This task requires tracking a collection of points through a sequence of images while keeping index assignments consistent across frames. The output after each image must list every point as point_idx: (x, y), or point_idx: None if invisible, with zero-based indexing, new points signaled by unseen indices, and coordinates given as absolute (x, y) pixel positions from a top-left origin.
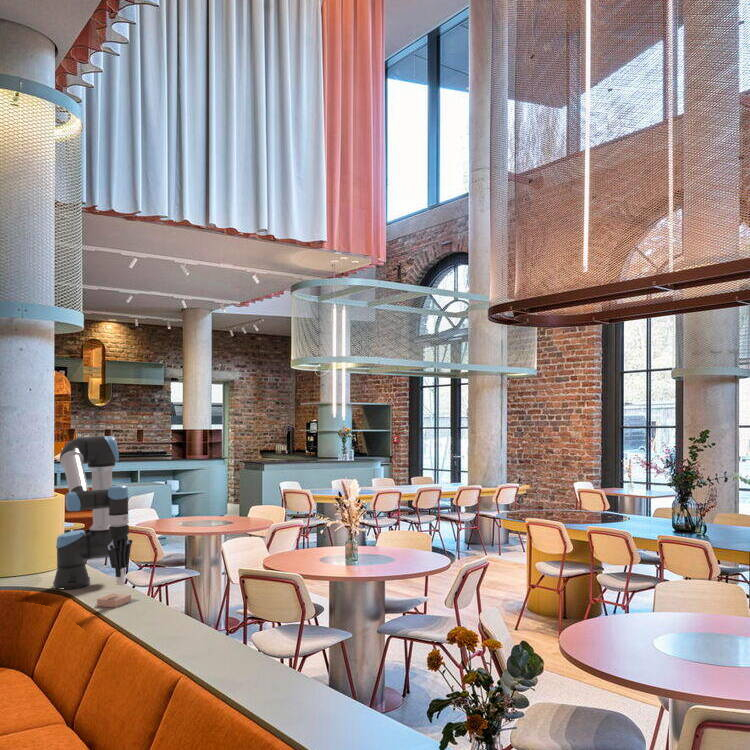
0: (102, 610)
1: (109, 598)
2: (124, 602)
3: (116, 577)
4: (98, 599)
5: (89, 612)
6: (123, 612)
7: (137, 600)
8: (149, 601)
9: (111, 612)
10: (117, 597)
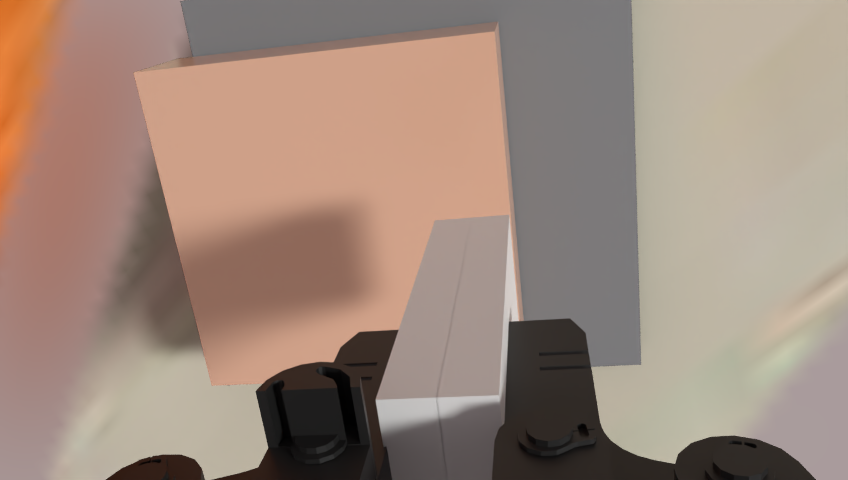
0: (163, 201)
1: (248, 228)
2: None
3: (414, 283)
4: (142, 102)
5: (30, 118)
6: (226, 468)
7: (603, 356)
8: (690, 439)
9: (164, 357)
10: (336, 296)
